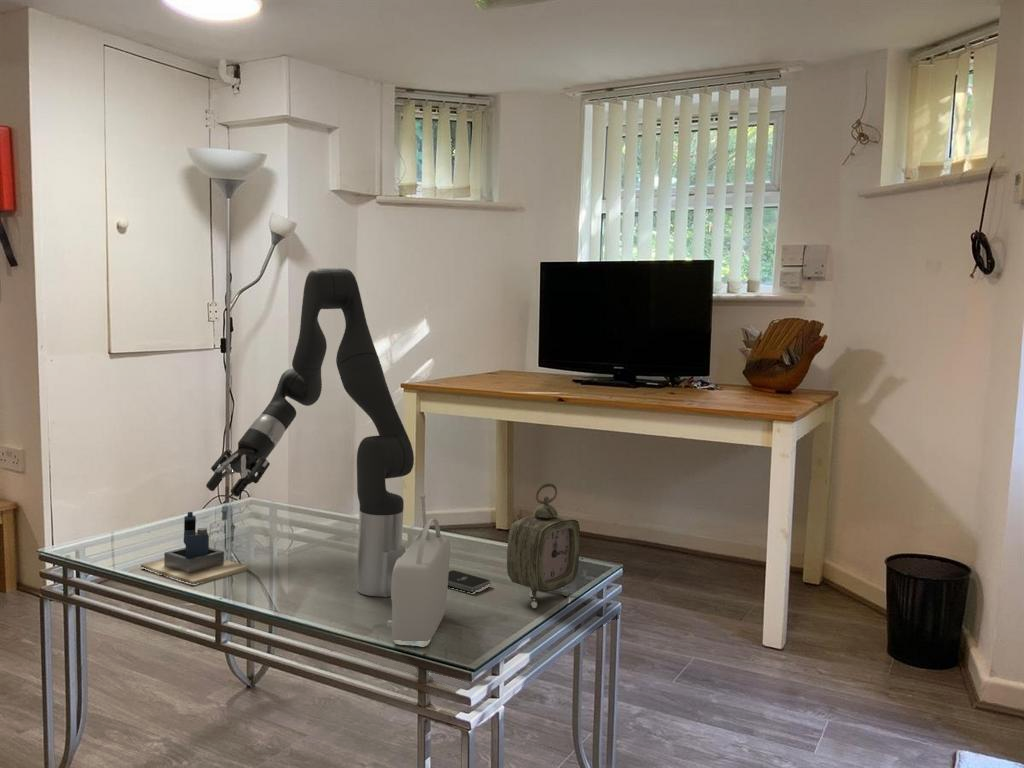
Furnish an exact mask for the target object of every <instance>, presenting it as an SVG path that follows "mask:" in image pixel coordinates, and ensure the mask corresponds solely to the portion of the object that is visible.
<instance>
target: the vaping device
mask: <svg viewBox="0 0 1024 768" xmlns="http://www.w3.org/2000/svg"><path fill="white" fill-rule="evenodd" d="M196 519H197V517H196V515H194V513H193V511H188V512H187V515H185V516H184V517H183V525H184V527H183V530H184V531H183V544H184V545H185V548H186V553H185V557H188V558H195V557H199V556H203V555H207V554H209V547H210V536H209V533H208V529H207V527H199V528H197V531H196V527H197V526H196V525H197V523H196V522H197V520H196Z"/></svg>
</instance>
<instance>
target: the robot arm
mask: <svg viewBox="0 0 1024 768" xmlns="http://www.w3.org/2000/svg"><path fill="white" fill-rule="evenodd" d="M303 287H304V288H303V294H302V295H303V297H302V303H301V315H300V326H299V334H298V339H297V344H296V347H295V350H294V355H293V358H292V361H291V362H292V363H291V364H292V365H291V366H292V368H289V369H287V370H285V371H284V372H283V373H282V374H281V376H280V379H279V381H278V383H277V387H276V390H275V392H274V394H273V397H272V399H271V400H270V401H269V403H268V404H267V406H266V407H265V409H264V410H263V411H262V413H261V414H260V415H259V416H258V417H257V418H256V419H255V420H254V421H253V423H252V424H251V425H250V426H249V427H248V429H247V430H246V432H245V433H244V434H243V436H242V437H241V438H240V439H239V441H238V442H237V450H235V451H234V452H230V450H228V449H226V450H225V451H224V452H222V454H221V455H220V456H219V458H217V460H216V461H215V462H214V463H213V465H211V468H210V469H211V471H212V472H213V473H214V474H213V475H212V476H211V478H210V479H209V480H208V481H207V483H206V489H208V490H209V491H210V492H214V491H215V490H216V489H217V488H218V486H219V485H220V483H221V482H223V479H224V478H225V477H227V476H228V475H231V476H232V475H234V474H235V473H237V474H238V473H239V474H241V478H238V480H237V481H236V483H235V484H234V486H233V487H232V488H231V489H230V493H231V494H232V495H233V496H234V497H237V498H238V497H239V496H240V495H241V494H242V493H243V492H244V490H245V489H246V488H247V486H248V485H251V484H252V483H253V484H258V483H259V481H260V480H261V478H262V477H263V476H264V474H265V472H266V471H267V469H268V468H269V466H270V465H271V464H270V462H269V461H268V459H267V458H268V457H269V456H270V454H271V453H272V452H273V450H275V449H274V448H276V447H277V445H278V443H280V441H281V439H282V437H283V436H284V433H285V432H286V431H287V429H288V428H289V427H290V425H291V424H292V422H293V421H294V420H295V418H296V416H297V410H296V408H295V407H294V405H293V404H291V403H290V402H289V401H288V400H287V399H286V398H287V397H288V398H290V399H292V400H293V401H295V402H297V403H299V404H301V405H303V406H306V407H308V406H313V405H314V404H316V403H317V401H319V399H320V396H321V393H322V385H323V384H322V381H323V380H322V367H323V363H324V360H325V356H326V352H327V349H328V348H327V347H328V346H327V340H326V336H325V333H324V331H323V330H322V327H321V325H320V323H319V318H318V317H319V314H320V311H321V310H341V311H342V312H343V313H342V314H343V317H344V321H345V327H344V328H345V329H344V331H343V332H344V333H343V336H342V339H341V341H340V344H339V346H338V349H337V352H336V353H337V354H336V357H335V364H336V368H337V371H338V374H339V377H340V379H341V380H340V381H341V383H342V387H343V389H344V390H345V392H346V394H347V395H348V396H349V397H350V399H352V400H353V402H355V403H356V404H357V405H358V407H359V408H360V409H361V410H362V411H363V412H365V414H366V415H367V416H368V417H369V418H370V419H371V421H372V422H373V424H374V426H375V428H376V431H377V433H378V435H370V436H366V437H364V438H362V440H361V441H360V442H359V444H358V448H357V452H356V495H357V498H358V503H359V511H358V512H359V513H358V516H359V517H358V539H357V540H358V542H357V543H358V544H357V548H358V549H357V564H356V565H357V569H356V570H357V571H356V574H357V575H356V576H357V577H356V591H357V592H358V593H360V594H362V595H364V596H369V597H383V598H388V597H391V581H392V573H393V568H394V565H395V563H396V560H397V559H398V558H401V556H402V555H403V554H404V553H405V552H406V550H407V548H406V546H404V545H403V528H404V527H403V526H404V525H403V524H404V503H405V502H404V498H403V497H402V496H401V495H400V494H397V493H393V492H389V491H388V490H387V485H386V480H388V479H393V478H402V477H405V476H407V475H409V474H410V473H411V472H412V471H413V468H414V466H415V465H414V464H415V462H414V461H415V456H414V450H413V446H412V443H411V440H410V438H409V435H408V434H407V430H406V428H405V426H404V425H403V423H402V420H401V418H400V416H399V413H398V411H397V408H396V406H395V404H394V401H393V399H392V395H391V392H390V390H389V387H388V383H387V382H386V381H387V380H386V378H385V374H384V370H383V367H382V364H381V362H380V358H379V355H378V352H377V350H376V347H375V345H374V341H373V338H372V335H371V333H370V332H371V331H370V329H369V326H368V325H369V324H368V321H367V319H366V314H365V310H364V306H363V305H364V304H363V301H362V296H361V293H360V287H359V284H358V281H357V279H356V276H355V275H354V273H353V272H352V271H351V270H349V269H348V268H343V267H342V268H324V267H323V268H313V269H311V270H310V271H309V272H308V274H307V276H306V278H305V282H304V286H303ZM224 470H225V471H224Z"/></svg>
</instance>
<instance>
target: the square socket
mask: <svg viewBox="0 0 1024 768" xmlns="http://www.w3.org/2000/svg"><path fill="white" fill-rule="evenodd" d="M185 553H186V547H183V548H178V549H174V550H168V551H165V552H164V557H163V559H164V566H166V567H169V568H172V569H175V570H178V571H182V572H185V573H188V574H192V573H195V572H199V571H203V570H206V569H210V568H214V567H217V566H221V565H224V559H225V551H223V550H220V549H216V548H212V547H210V546H209V554H207V555H203V556H199V557H195V558H188V557H185Z"/></svg>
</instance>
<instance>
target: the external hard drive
mask: <svg viewBox="0 0 1024 768" xmlns="http://www.w3.org/2000/svg"><path fill="white" fill-rule="evenodd" d="M488 584H490V585H491V579H488V578H484V577H481V576H477V575H473V574H470V573H466V572H463V571H458V570H455V569H452V570H449V573H448V587H450V588H454V589H458V590H462V591H465V592H470V593H473V592H475V591H476V590H479V589H481V588H482V587H485V586H486V585H488ZM450 588H449V589H450Z"/></svg>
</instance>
